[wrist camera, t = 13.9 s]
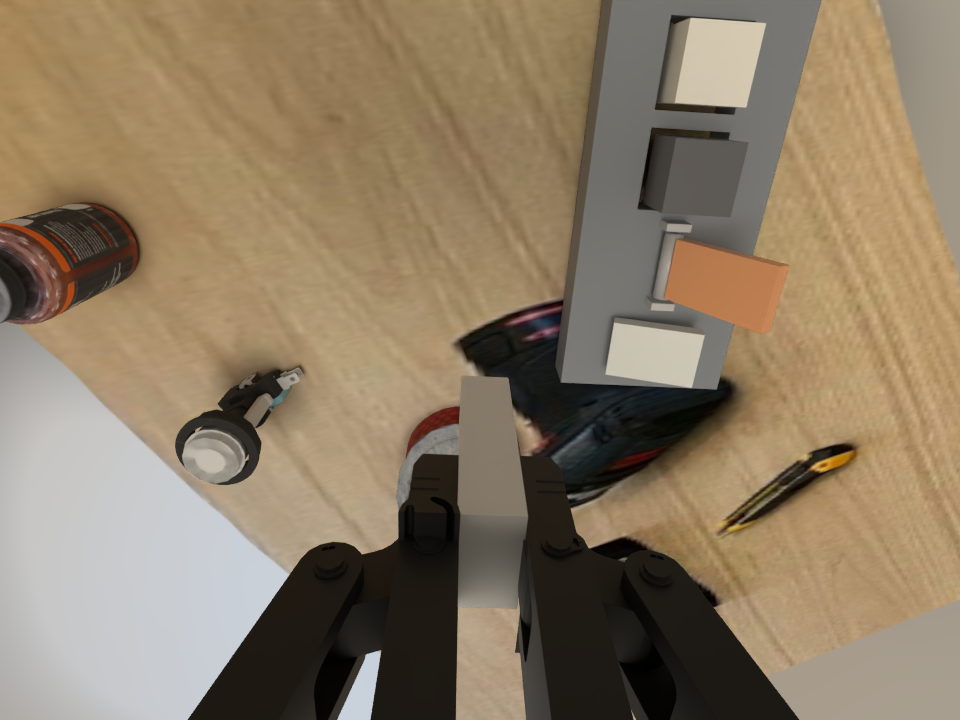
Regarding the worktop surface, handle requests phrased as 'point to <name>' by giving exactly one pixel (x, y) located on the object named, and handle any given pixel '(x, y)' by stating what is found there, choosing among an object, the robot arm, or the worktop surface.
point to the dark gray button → (694, 175)
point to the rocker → (654, 352)
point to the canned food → (430, 444)
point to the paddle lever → (720, 282)
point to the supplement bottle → (61, 260)
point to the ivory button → (710, 62)
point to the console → (620, 167)
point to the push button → (232, 430)
